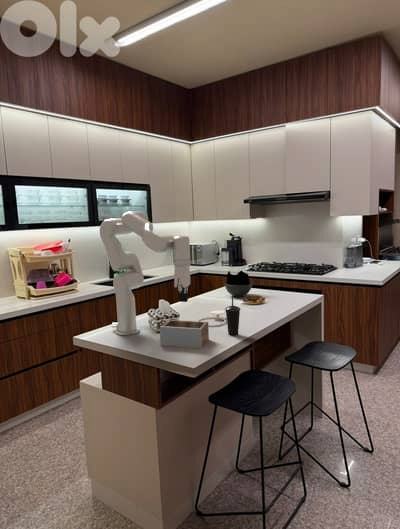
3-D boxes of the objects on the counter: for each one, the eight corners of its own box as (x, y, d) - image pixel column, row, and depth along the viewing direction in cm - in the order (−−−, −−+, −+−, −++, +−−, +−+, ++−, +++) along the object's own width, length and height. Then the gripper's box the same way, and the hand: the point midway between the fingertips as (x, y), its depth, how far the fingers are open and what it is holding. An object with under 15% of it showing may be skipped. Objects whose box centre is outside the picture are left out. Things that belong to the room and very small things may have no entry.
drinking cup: (239, 332, 189) (239, 293, 187) (241, 336, 182) (241, 297, 179) (224, 332, 189) (224, 294, 186) (226, 337, 181) (225, 297, 179)
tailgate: (160, 345, 173) (159, 326, 172) (161, 344, 174) (160, 325, 173) (201, 348, 167) (200, 329, 166) (202, 347, 168) (201, 328, 167)
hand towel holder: (190, 317, 204) (208, 308, 222) (190, 325, 205) (208, 316, 222) (217, 321, 196) (234, 311, 213) (217, 329, 196) (234, 319, 214)
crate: (161, 344, 174) (160, 326, 173) (170, 337, 185) (169, 319, 184) (202, 347, 168) (201, 328, 167) (208, 339, 179) (208, 321, 178)
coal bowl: (256, 295, 274) (256, 269, 272) (245, 300, 257) (244, 274, 255) (232, 292, 285) (232, 268, 282) (220, 298, 268) (219, 272, 265)
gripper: (180, 260, 179) (181, 297, 181) (168, 265, 165) (170, 305, 167) (194, 260, 177) (196, 298, 179) (184, 264, 163) (186, 305, 165)
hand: (184, 301), depth 173 cm, fingers closed
